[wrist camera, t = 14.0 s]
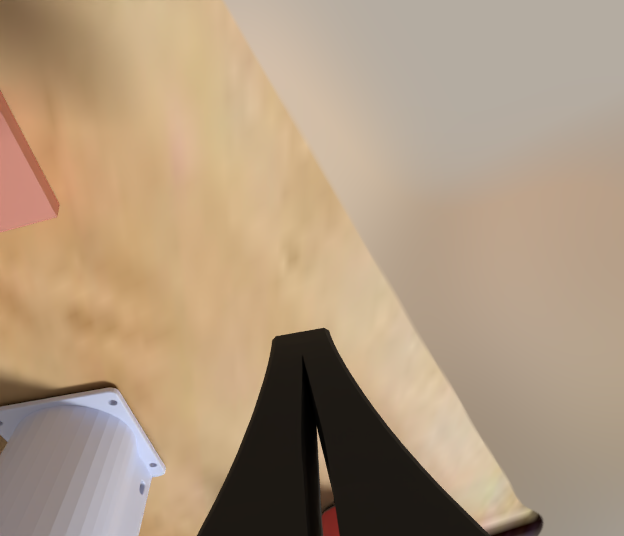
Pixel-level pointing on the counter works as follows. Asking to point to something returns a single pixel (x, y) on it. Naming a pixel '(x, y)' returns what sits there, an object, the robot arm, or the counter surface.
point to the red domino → (21, 178)
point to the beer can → (330, 522)
